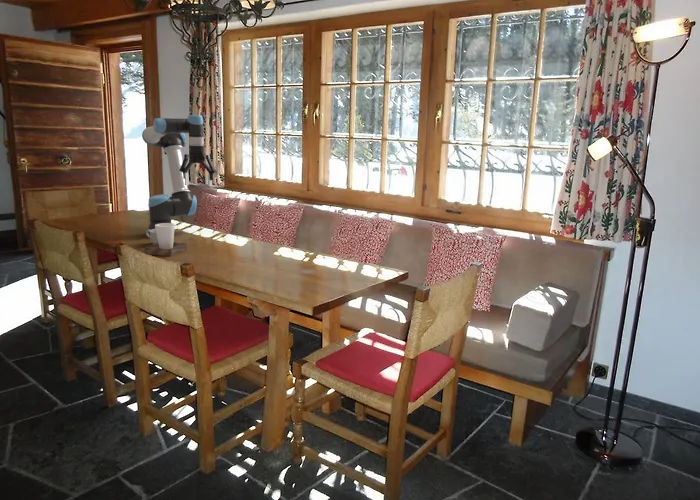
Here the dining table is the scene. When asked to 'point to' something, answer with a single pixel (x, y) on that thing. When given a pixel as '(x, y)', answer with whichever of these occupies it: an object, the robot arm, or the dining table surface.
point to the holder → (156, 250)
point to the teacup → (152, 236)
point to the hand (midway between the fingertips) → (198, 185)
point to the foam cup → (165, 235)
